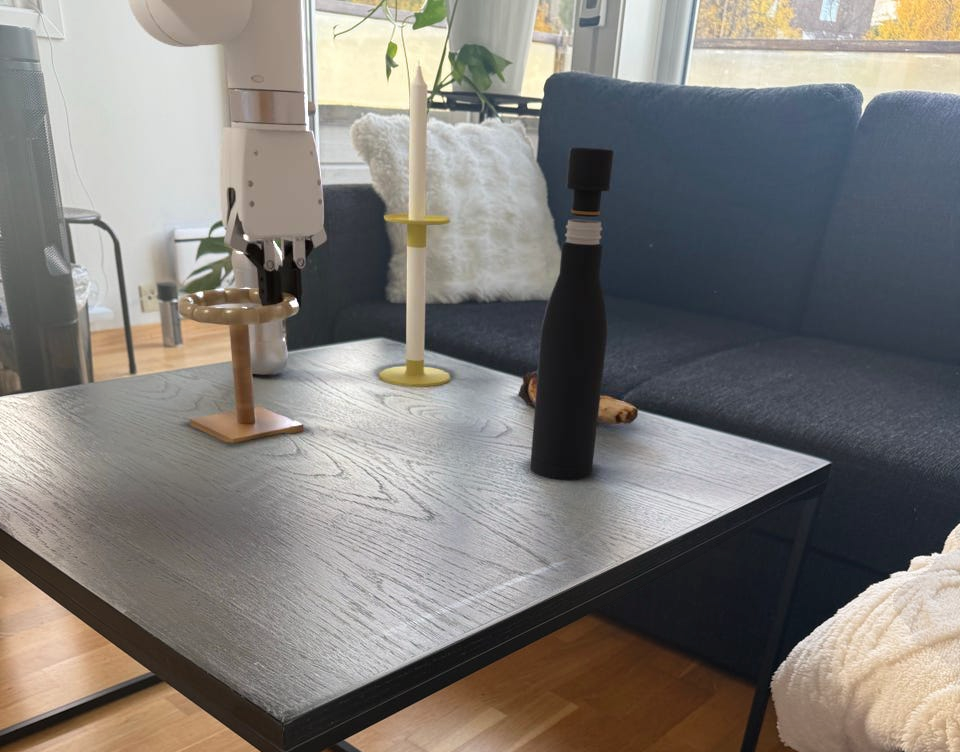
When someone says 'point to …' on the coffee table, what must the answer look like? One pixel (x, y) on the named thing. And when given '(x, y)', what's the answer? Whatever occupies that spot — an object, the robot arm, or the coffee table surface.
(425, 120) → the candle
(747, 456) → the coffee table surface
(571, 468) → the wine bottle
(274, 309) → the ring
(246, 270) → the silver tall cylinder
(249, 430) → the stand
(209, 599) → the coffee table surface
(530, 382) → the brown oblong lump
